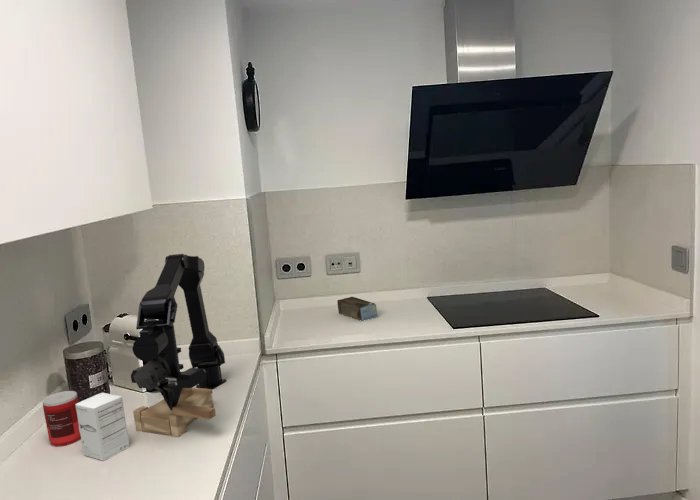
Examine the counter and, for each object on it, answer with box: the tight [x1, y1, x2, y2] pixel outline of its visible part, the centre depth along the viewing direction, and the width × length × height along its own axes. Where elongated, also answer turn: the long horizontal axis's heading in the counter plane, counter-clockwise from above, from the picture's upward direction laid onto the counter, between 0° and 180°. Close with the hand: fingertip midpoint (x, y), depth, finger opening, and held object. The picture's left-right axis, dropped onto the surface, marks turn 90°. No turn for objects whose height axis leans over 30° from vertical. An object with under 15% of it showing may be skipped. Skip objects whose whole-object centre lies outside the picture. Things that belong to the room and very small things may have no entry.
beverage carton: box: [336, 296, 378, 322], centre depth 227 cm, size 8×19×7 cm, turn 30°
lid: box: [141, 387, 213, 419], centre depth 141 cm, size 16×9×5 cm, turn 155°
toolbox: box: [132, 393, 215, 438], centre depth 141 cm, size 16×14×5 cm
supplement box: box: [75, 392, 130, 462], centre depth 127 cm, size 7×7×13 cm
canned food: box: [42, 390, 81, 447], centre depth 136 cm, size 8×8×11 cm
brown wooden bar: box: [172, 404, 217, 420], centre depth 130 cm, size 2×11×2 cm, turn 65°
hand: (173, 409), depth 133 cm, fingers closed
